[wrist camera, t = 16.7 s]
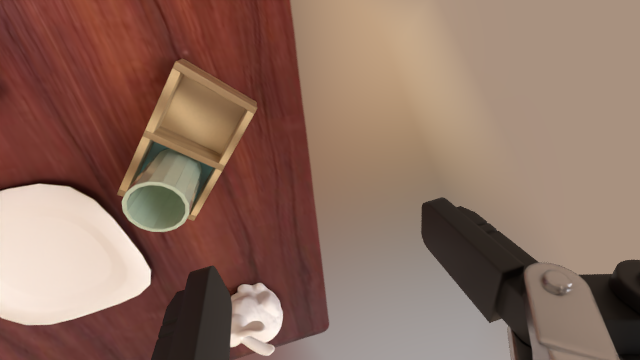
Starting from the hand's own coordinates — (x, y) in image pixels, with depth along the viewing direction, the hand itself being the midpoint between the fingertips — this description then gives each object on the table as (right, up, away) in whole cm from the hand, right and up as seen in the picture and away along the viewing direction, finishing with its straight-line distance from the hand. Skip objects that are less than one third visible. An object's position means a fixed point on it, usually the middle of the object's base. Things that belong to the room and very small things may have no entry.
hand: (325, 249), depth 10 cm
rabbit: (-13, -18, +39) cm, 45 cm away
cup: (-19, +4, +25) cm, 31 cm away
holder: (-17, +7, +24) cm, 30 cm away
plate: (-37, -8, +27) cm, 47 cm away
